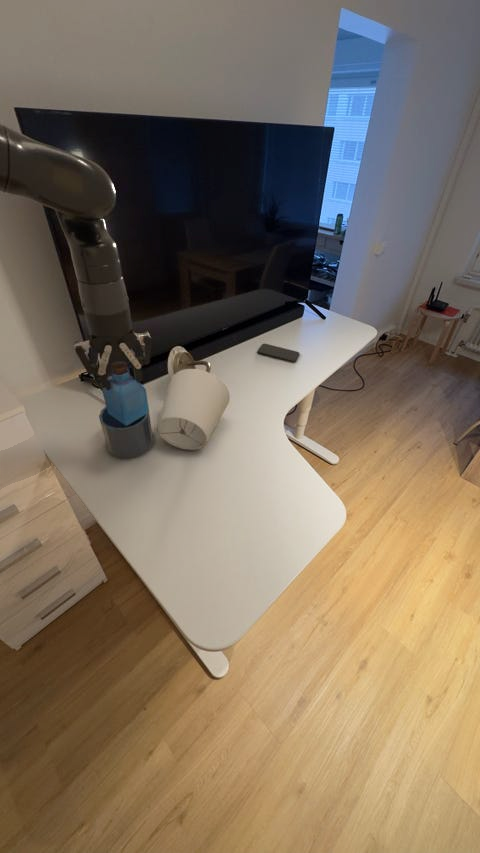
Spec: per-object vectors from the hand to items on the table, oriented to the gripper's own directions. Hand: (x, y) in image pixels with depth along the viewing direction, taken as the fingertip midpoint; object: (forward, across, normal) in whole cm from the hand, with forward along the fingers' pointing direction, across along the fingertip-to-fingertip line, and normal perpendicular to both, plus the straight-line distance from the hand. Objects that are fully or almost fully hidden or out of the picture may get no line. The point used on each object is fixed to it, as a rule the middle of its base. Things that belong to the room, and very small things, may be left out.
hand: (122, 384), depth 70 cm
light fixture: (+24, -20, -14) cm, 34 cm away
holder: (+24, +1, -8) cm, 25 cm away
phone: (+24, -60, -36) cm, 74 cm away
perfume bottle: (+8, 0, 0) cm, 8 cm away
